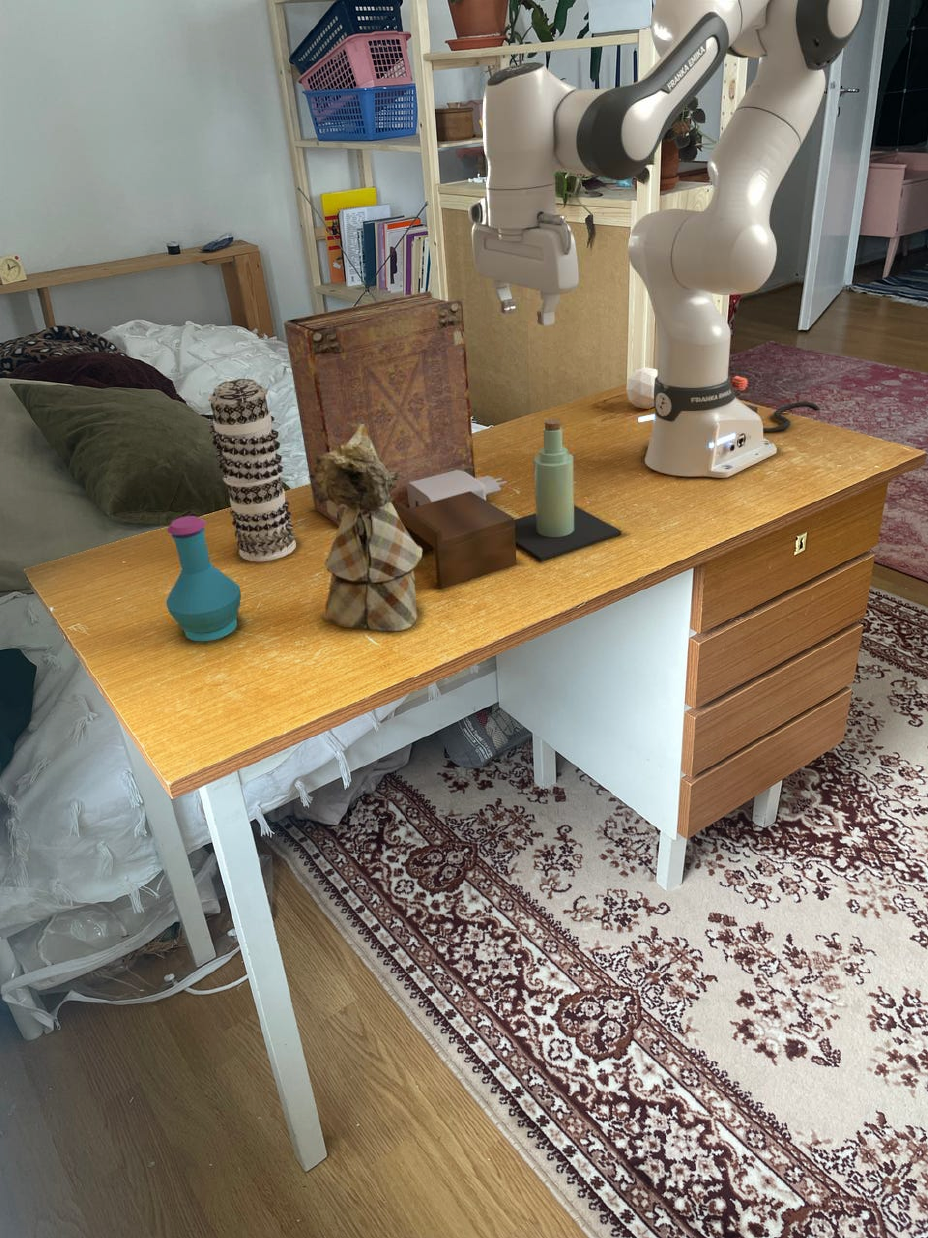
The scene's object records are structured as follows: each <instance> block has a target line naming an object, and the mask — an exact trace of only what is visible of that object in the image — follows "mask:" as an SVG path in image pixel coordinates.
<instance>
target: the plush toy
mask: <svg viewBox="0 0 928 1238" xmlns="http://www.w3.org/2000/svg"><path fill="white" fill-rule="evenodd" d="M316 464H317V465H318V467H315V469H314V472H313V475H310V476H309V475H308V477H309V478H310V477H311V478H314V484H312V488H311V492H312V491H313V494H312V497H313V496H314V498H317V499H318V502H319V504H323V503H324V502H326V501H328V500H331V501H332V502H334V504H335V505H336V506H339V505H341V504H344V505H346V509H345V512H344V515H343V518H342V521H341V523H340V526H339V525H338V526H339V527H338V528H337V531H336V534H335V536H334V539H333V541H332V545H331V547H330V548H331V549H330V551H329V555H328V557H326V560H325V562H324V565H325V567H326V568H325V569H326V570H327V572H329V573H331V576H330V583H329V589H328V594H327V599H326V602H325V611H324V612H323V614H322V621H325V622H329V623H331V624H333V625H335V626H341V627H345V628H351V629H352V628H353V629H364V630H369V631H373V630H374V631H382V632H400V631H401V632H402V631H404V630H407V629H410V628H411V627H412V626H414V625H415V623H416V620H417V618H418V615H419V614H418V611H417V598H416V596H417V595H416V594H417V593H416V592H417V591H416V587H415V584H416V581H415V579H416V578H415V570H414V569H415V567H416V566H417V565H418V564H419V562H420V561H421V560H422V559H423V554H422V551H423V549H422V548H421V547H420V546H419V545H417V544H416V543H415V542H414V540H413V539H412V537H411V536H410V534H409V533H408V532H407V530H406V528H405V526H404V525H403V524H402V522H401V520H400V518H399V516H398V514H397V512H396V510H395V508H394V506H393V504H392V503H391V502H392V499H393V495H391V494H390V492H391V491H392V489H394V488H396V487H397V486H396V485H395V483H394V480H398V479H397V477H398V476H399V474H398V473H393V472H388V470H387V469H386V468H385V466H384V464H383V463H381V462H380V461H379V458H378V457H377V454H376V451H375V448H374V446H373V444H372V441H371V439H370V437H369V434H368V432H367V429H366V427H365V425H364V424H362V425H358V429H357V431H356V433H355V434H354V436H353V437H352V438H351V439H350V440H349V442H348V443H347V444H346V445H340V444H337V449H336V450H335V451H333V452H329V453H324V455H323V456H317V458H316ZM317 481H318V482H317ZM338 503H340V504H338Z"/></svg>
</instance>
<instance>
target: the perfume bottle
mask: <svg viewBox="0 0 928 1238" xmlns="http://www.w3.org/2000/svg"><path fill="white" fill-rule="evenodd" d="M206 525H207V522H206V521H205V520H204V519H202V518H201V517H199V516H195V515H187V516H182V517H178V518H175V519H174V520H173V521H172V522H171V523H170V524H169V526H168V527H167V529H166V532H167V533H168V534H170V535H171V538H172V539H173V540H174V543H175V548H176V553H177V556H178V560H179V564H180V567H181V568H180V569H181V570H180V572H179V574H178V576H177V579H176V581H175V583H174V584H173V587H172V588H171V590H170V592H169V594H168V595H167V598H166V603H165V605H166V607H167V610H168V612H169V614H170V615H171V617H172V619H174V621H175V622H176V623H177V624H178V626H179V628H181V629H182V630H183V631H184V634H185V636H186V638H188V639H189V640H190V641H194V642H212V641H215V640H219V639H222V638H224V637H226V636H228V635H230V634H231V633H233V632H234V631H235V630H236V628H237V626H238V622H237V618H238V615H239V608H240V605H241V600H242V599H241V597H242V595H241V588H240V585H239V584H238V583H237V582H235V580H233V579H232V578H230V577H229V576H228V575H226V574H225V573H224V572H222V571H221V570H219V569H218V568H217V567H216V566H214V565H213V564H212V563H211V559H210V556H209V550H208V546H207V542H206V537H205V532H206V531H205V527H206Z"/></svg>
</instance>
